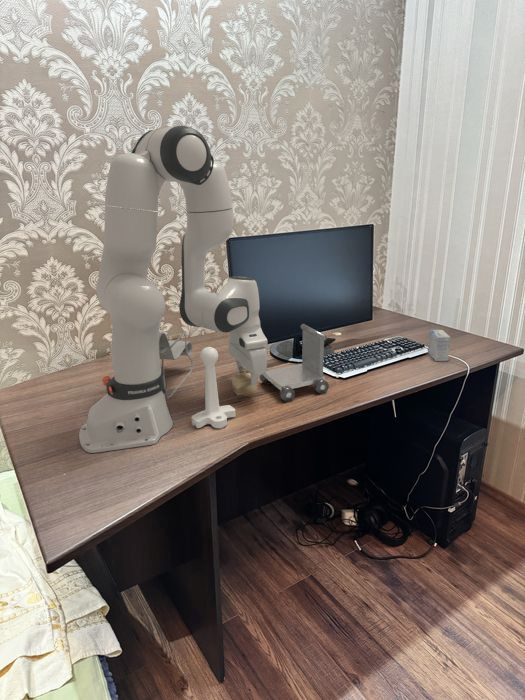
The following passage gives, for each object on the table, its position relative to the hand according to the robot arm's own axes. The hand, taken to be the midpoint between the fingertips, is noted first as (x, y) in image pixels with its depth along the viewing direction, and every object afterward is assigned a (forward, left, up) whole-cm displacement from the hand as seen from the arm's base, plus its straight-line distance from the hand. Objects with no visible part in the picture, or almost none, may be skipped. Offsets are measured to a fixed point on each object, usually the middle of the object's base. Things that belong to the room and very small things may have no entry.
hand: (247, 378), depth 135 cm
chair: (-22, +17, -4) cm, 28 cm away
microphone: (+38, +21, -4) cm, 44 cm away
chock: (-1, 0, -4) cm, 4 cm away
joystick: (-15, -14, -4) cm, 21 cm away
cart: (+13, -5, -4) cm, 14 cm away
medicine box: (+68, -6, -4) cm, 68 cm away
